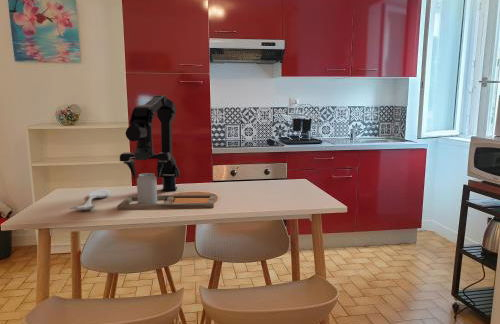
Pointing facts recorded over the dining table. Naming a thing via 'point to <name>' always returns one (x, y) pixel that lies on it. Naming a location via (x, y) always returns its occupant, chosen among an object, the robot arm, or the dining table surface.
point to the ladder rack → (168, 202)
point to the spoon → (94, 194)
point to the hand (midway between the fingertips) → (146, 178)
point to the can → (147, 188)
